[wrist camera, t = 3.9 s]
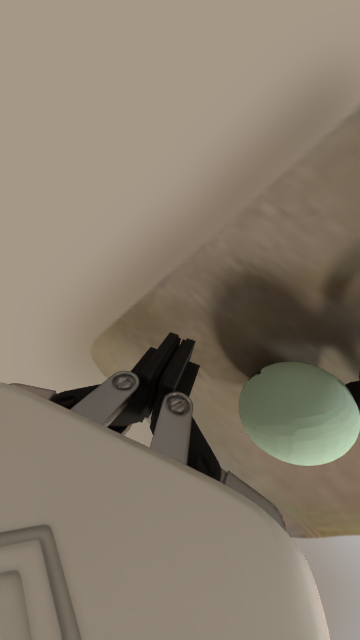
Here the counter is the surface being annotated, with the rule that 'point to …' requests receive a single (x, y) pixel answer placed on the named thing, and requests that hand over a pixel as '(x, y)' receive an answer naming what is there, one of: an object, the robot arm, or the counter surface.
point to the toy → (300, 413)
